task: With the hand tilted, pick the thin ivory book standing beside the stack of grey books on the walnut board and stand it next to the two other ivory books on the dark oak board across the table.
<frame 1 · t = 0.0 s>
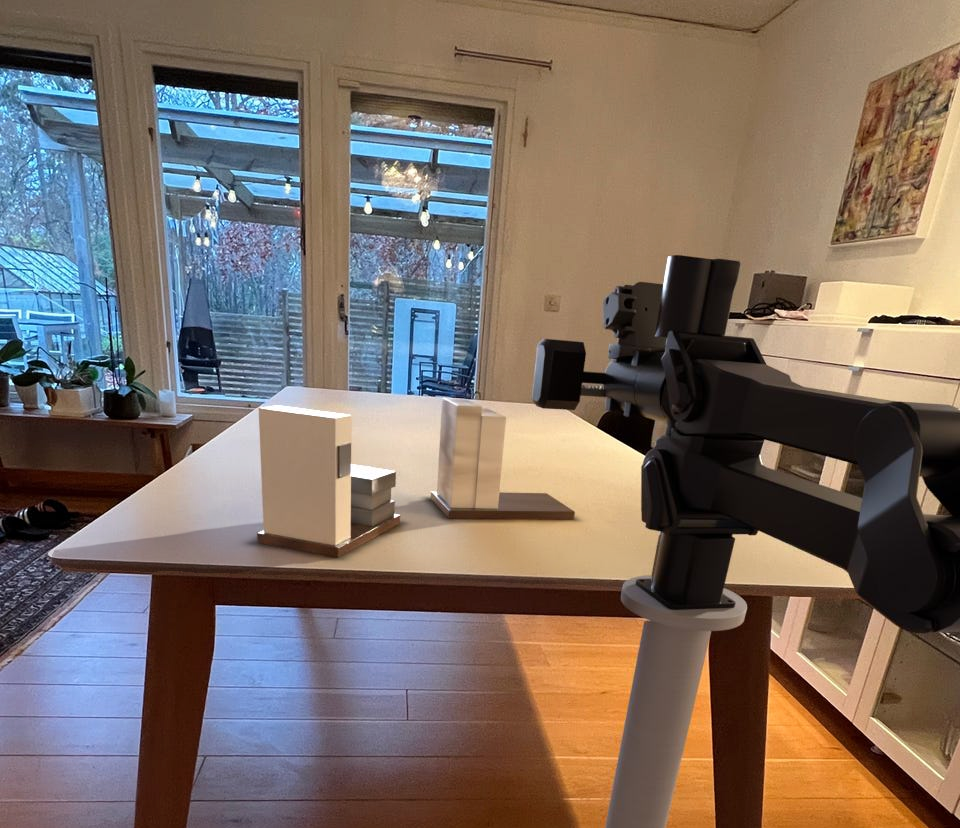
hand: (591, 372, 78), 18 cm above the table, tool horizontal, fingers open, 9 cm apart
white book: (307, 535, 72), point 1 cm above the table, touching grey book shelf
grey book shelf: (333, 532, 77), on the table
white book shelf: (500, 508, 93), on the table
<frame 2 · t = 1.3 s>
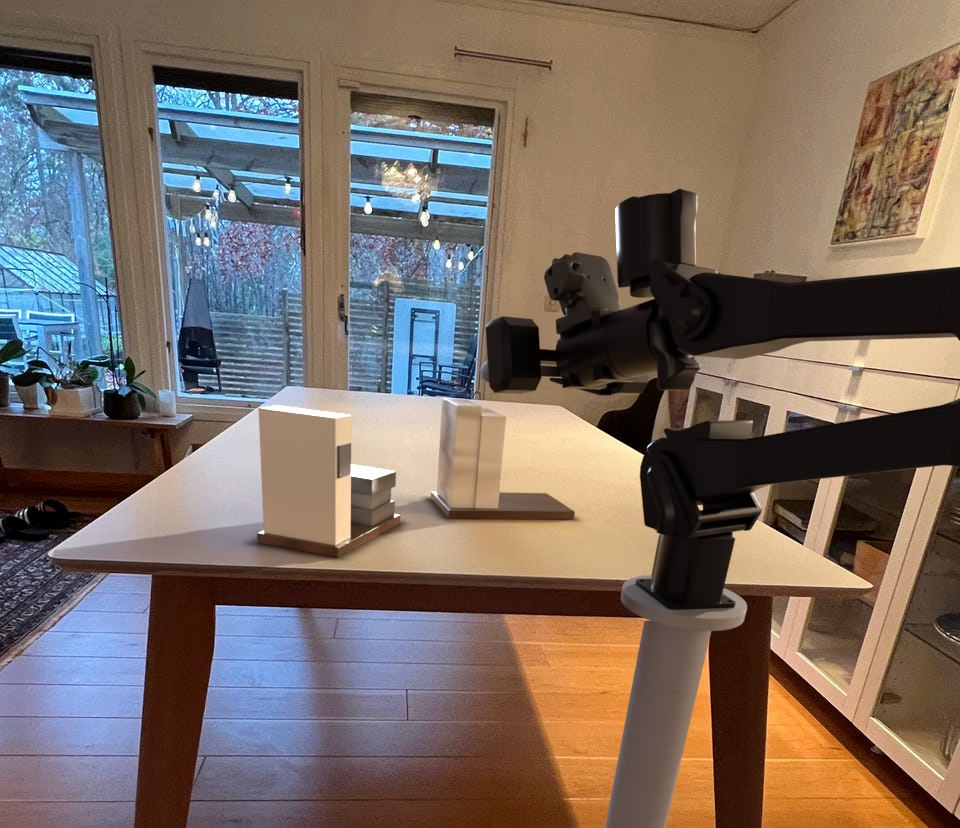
hand: (517, 374, 76), 17 cm above the table, tool tilted 75°, fingers open, 9 cm apart
nothing on the table moved.
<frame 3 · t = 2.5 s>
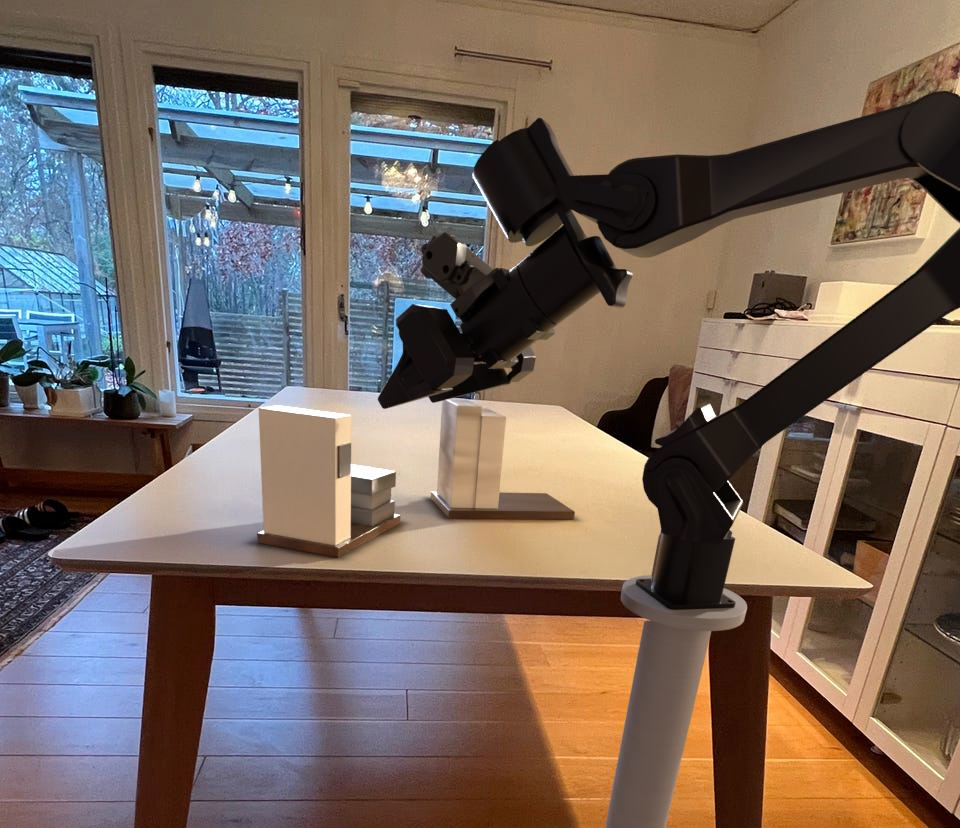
hand: (406, 401, 67), 15 cm above the table, tool tilted 50°, fingers open, 9 cm apart
nothing on the table moved.
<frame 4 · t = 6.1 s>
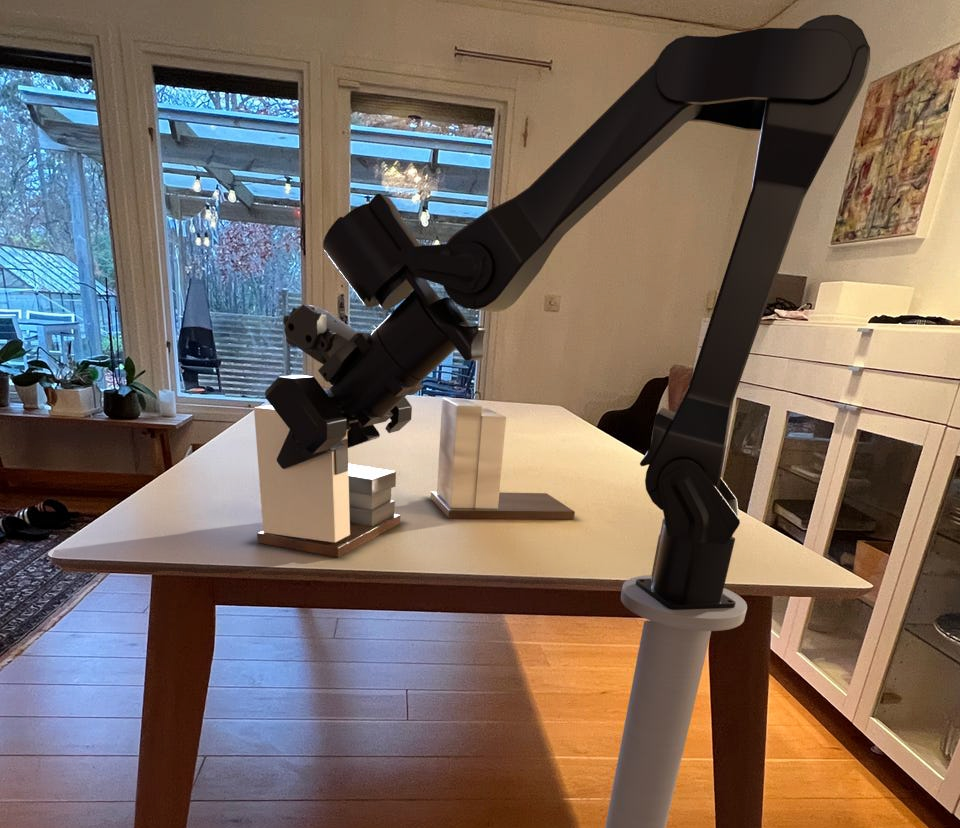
hand: (291, 461, 70), 8 cm above the table, tool tilted 45°, fingers closed on white book, 3 cm apart
white book: (306, 533, 72), point 1 cm above the table, touching grey book shelf, gripper
everything else where it was.
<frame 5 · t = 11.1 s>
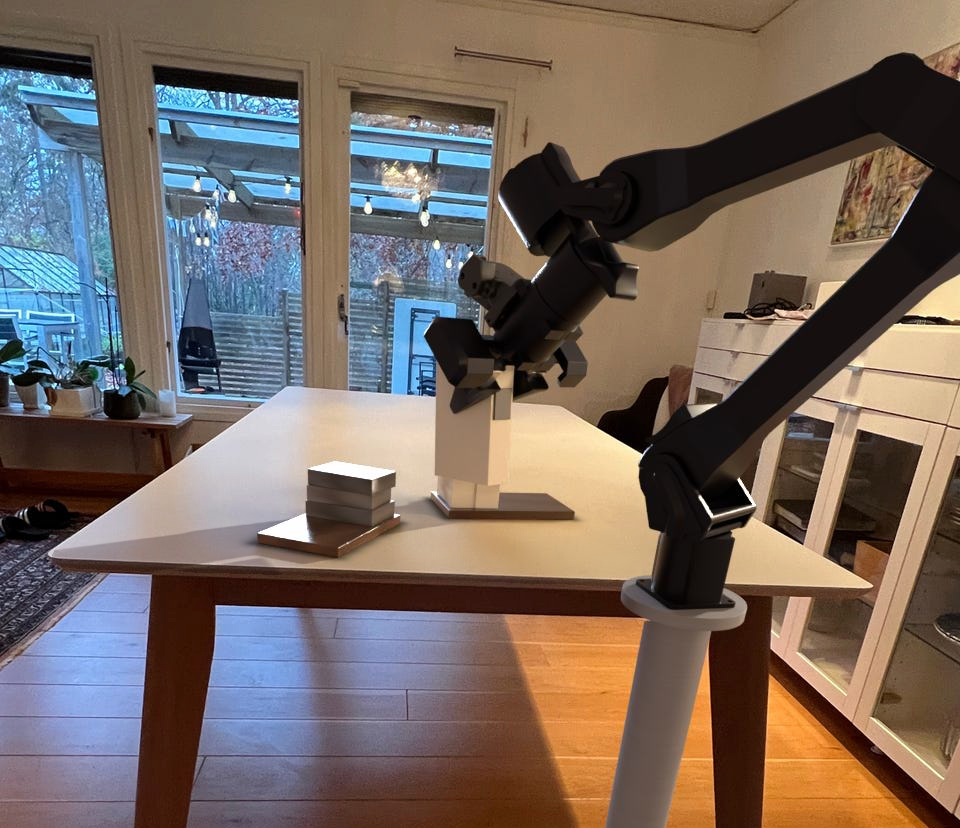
hand: (464, 409, 75), 13 cm above the table, tool tilted 45°, fingers closed on white book, 3 cm apart
white book: (470, 479, 77), point 6 cm above the table, touching gripper
everything else where it was.
when the fingers open (8 cm above the table, at t = 16.2 s): white book stays where it is, resting on white book shelf.
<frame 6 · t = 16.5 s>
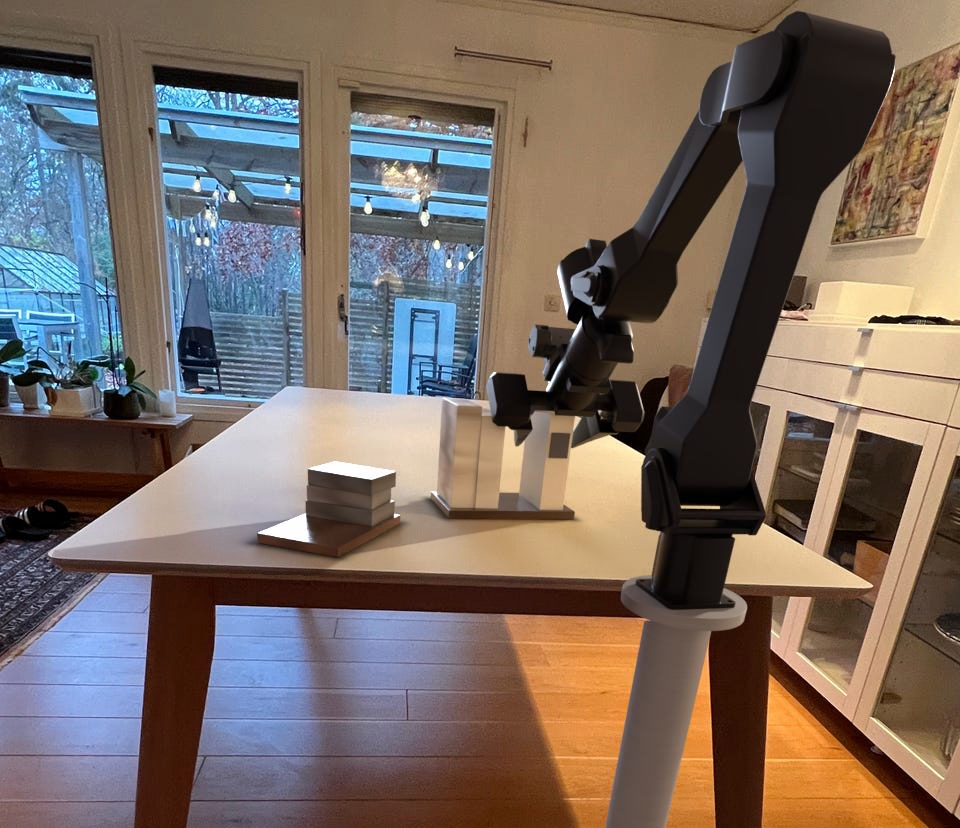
hand: (543, 444, 93), 8 cm above the table, tool tilted 45°, fingers open, 7 cm apart
white book: (540, 502, 94), point 1 cm above the table, touching white book shelf
everything else where it was.
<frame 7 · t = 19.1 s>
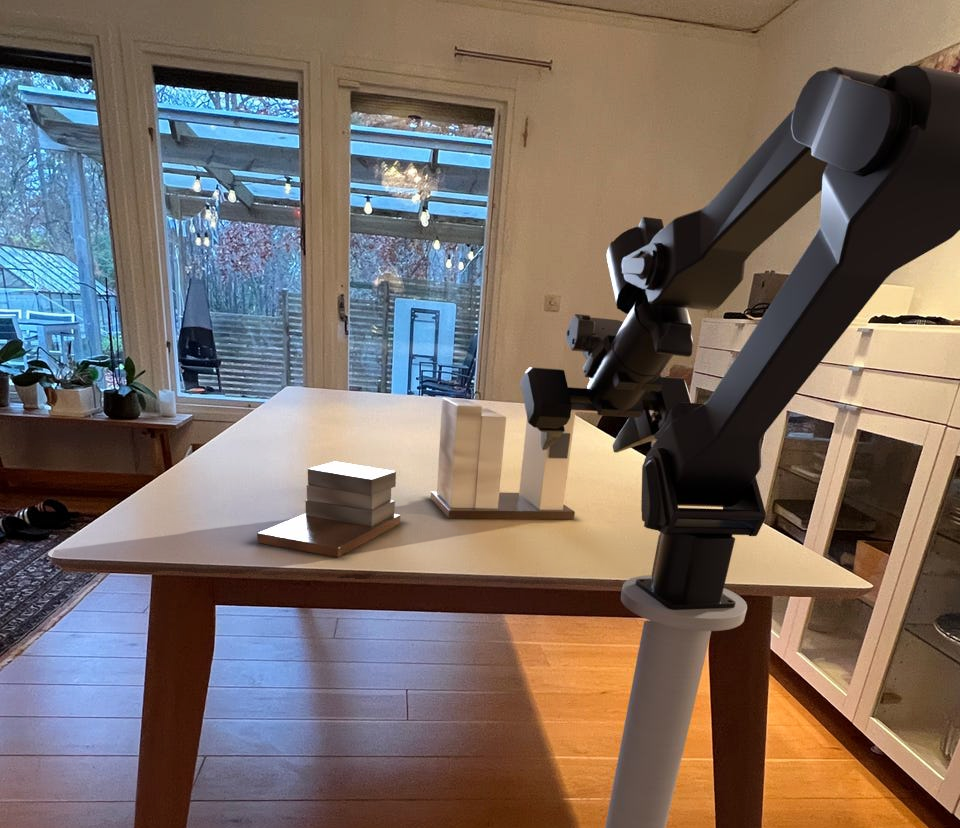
hand: (579, 447, 84), 9 cm above the table, tool tilted 45°, fingers open, 9 cm apart
nothing on the table moved.
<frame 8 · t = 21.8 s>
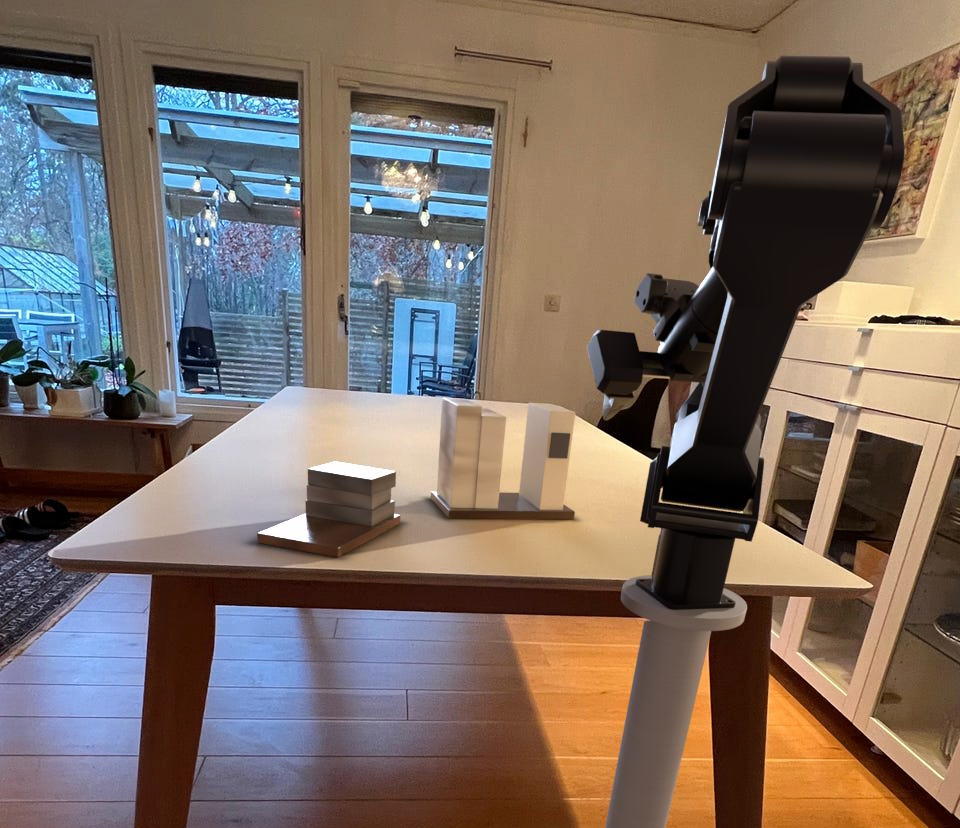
hand: (641, 418, 80), 14 cm above the table, tool tilted 45°, fingers open, 9 cm apart
nothing on the table moved.
at the end: white book 0.3 cm from the target spot on the white book shelf, point 1.0 cm above the white book shelf's base; white book tilted 0°; the gripper is holding nothing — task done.
